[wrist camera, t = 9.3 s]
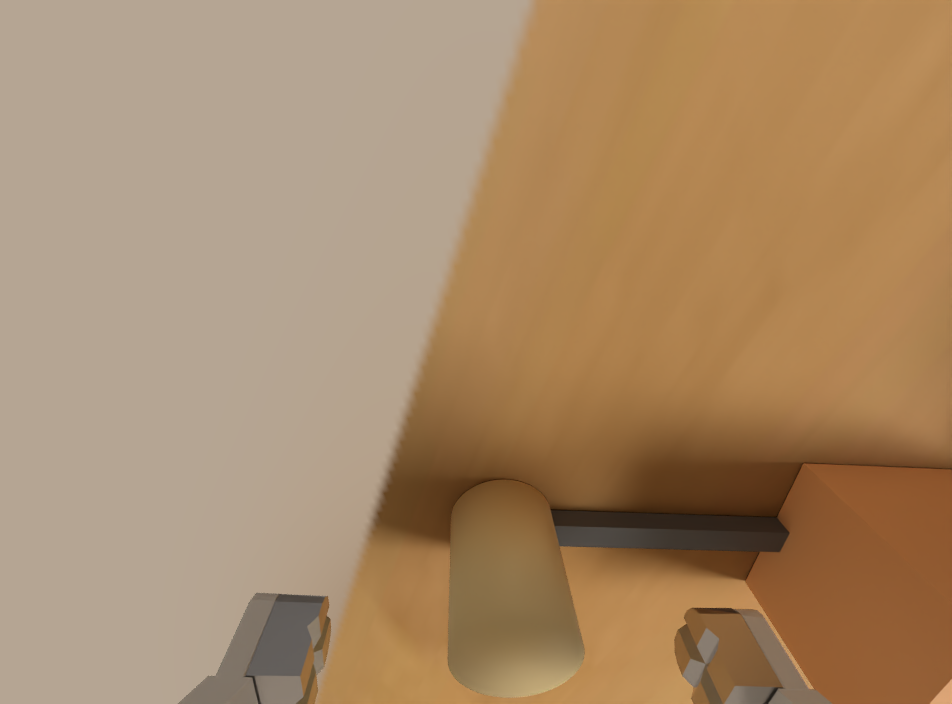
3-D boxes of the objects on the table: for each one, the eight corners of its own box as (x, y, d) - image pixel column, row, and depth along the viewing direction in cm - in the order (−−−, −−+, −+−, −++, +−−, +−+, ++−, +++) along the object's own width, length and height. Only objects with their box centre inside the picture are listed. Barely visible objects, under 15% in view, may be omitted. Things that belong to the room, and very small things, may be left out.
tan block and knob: (455, 448, 12) (453, 630, 8) (996, 471, 13) (1272, 643, 9) (446, 574, 14) (441, 774, 10) (912, 585, 15) (1099, 770, 11)
